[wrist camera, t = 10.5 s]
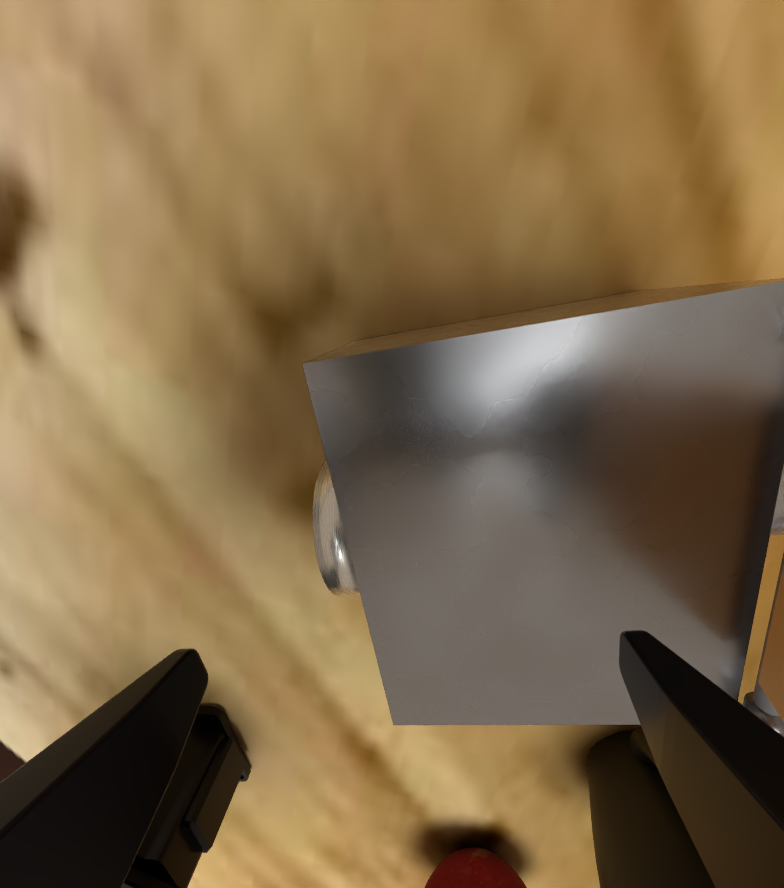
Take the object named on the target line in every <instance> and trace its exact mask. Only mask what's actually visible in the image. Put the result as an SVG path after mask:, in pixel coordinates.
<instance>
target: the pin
mask: <svg viewBox="0 0 784 888" xmlns="http://www.w3.org/2000/svg"><path fill="white" fill-rule="evenodd" d="M313 533H314V543H315V550H316V555H317V560H318V564H319V568H320V571H321V574H322V577H323V579H324V582H325V584H326V585H327V587H328V589H329V590H330V591H331V592H332V593H333V594H334V595H337V596H344V595H360V591H359V587H358V583H357V579H356V575H355V571H354V567H353V563H352V559H351V555H350V551H349V547H348V543H347V539H346V535H345V531H344V527H343V523H342V520H341V516H340V512H339V508H338V504H337V500H336V496H335V492H334V488H333V484H332V480H331V476H330V472H329V468H328V464H327V460H326V461H325V462H324V463H323V465H322V467H321V469H320V471H319V474H318V477H317V481H316V485H315V492H314V500H313ZM774 535H784V465H783V470H782V476H781V481H780V486H779V491H778V496H777V501H776V506H775V511H774V517H773V522H772V527H771V532H770V536H774Z"/></svg>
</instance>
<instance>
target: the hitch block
mask: <svg viewBox="0 0 784 888" xmlns="http://www.w3.org/2000/svg"><path fill="white" fill-rule="evenodd" d="M302 365H303V369H304V373H305V377H306V381H307V385H308V389H309V393H310V397H311V401H312V405H313V409H314V413H315V417H316V421H317V425H318V429H319V433H320V436H321V440H322V444H323V448H324V452H325V456H326V460H327V464H328V468H329V472H330V476H331V480H332V484H333V488H334V492H335V496H336V500H337V504H338V508H339V512H340V516H341V520H342V523H343V527H344V531H345V535H346V539H347V543H348V547H349V551H350V555H351V559H352V563H353V567H354V571H355V575H356V579H357V583H358V587H359V591H360V595H361V599H362V603H363V607H364V610H365V614H366V618H367V622H368V626H369V630H370V634H371V638H372V642H373V646H374V650H375V654H376V658H377V662H378V666H379V670H380V674H381V678H382V682H383V686H384V690H385V693H386V697H387V701H388V705H389V709H390V713H391V717H392V721H393V725H641V724H640V722H639V719H638V716H637V714H636V711H635V709H634V706H633V704H632V701H631V698H630V696H629V693H628V691H627V688H626V686H625V683H624V680H623V678H622V675H621V672H620V667H619V643H620V634H621V632H622V631H630V630H644V631H646V632H648V633H650V634H651V635H652V636H654V637H655V638H656V639H658V640H659V641H660V642H661V643H663V644H664V645H665V646H667V647H668V648H669V649H670V650H672V651H673V652H674V653H676V654H677V655H678V656H680V657H681V658H682V659H683V660H685V661H686V662H687V663H689V664H690V665H691V666H693V667H694V668H695V669H696V670H698V671H699V672H700V673H702V674H703V675H704V676H706V677H707V678H708V679H709V680H711V681H712V682H713V683H715V684H716V685H717V686H719V687H720V688H721V689H722V690H724V691H725V692H726V693H728V694H729V695H730V696H732V697H733V698H734V699H735V700H737V701H738V696H739V691H740V686H741V681H742V676H743V671H744V665H745V660H746V655H747V650H748V645H749V640H750V635H751V629H752V624H753V619H754V614H755V609H756V604H757V599H758V594H759V588H760V583H761V578H762V573H763V568H764V563H765V558H766V552H767V547H768V542H769V537H770V532H771V527H772V522H773V517H774V511H775V506H776V501H777V496H778V491H779V486H780V481H781V476H782V470H783V465H784V278H781V279H769V280H757V281H745V282H733V283H721V284H709V285H697V286H685V287H673V288H662V289H650V290H639V291H634V292H628V293H622V294H617V295H611V296H605V297H600V298H594V299H589V300H583V301H577V302H572V303H566V304H560V305H555V306H549V307H543V308H538V309H532V310H527V311H521V312H515V313H510V314H504V315H498V316H493V317H487V318H481V319H476V320H470V321H465V322H459V323H453V324H448V325H442V326H436V327H431V328H425V329H419V330H414V331H408V332H403V333H397V334H391V335H386V336H380V337H374V338H369V339H363V340H357V341H355V342H352V343H350V344H348V345H345V346H343V347H341V348H338V349H336V350H334V351H331V352H329V353H326V354H324V355H322V356H319V357H317V358H315V359H312V360H310V361H308V362H305V363H303V364H302ZM753 694H754V692H749V693H747V694H746V695H745V697H744V702H743V706H745V707H746V708H747V709H748V710H750V711H751V712H752V713H754V714H755V715H756V716H757V717H759V718H760V719H761V720H763V721H764V722H765V723H767V724H768V725H769V726H770V727H772V728H773V729H774V730H776V731H777V732H778V733H780V734H781V735H782V736H783V737H784V722H783V720H782V719H781V717H780V716H773V715H770V714H768V713H766V712H764V711H762V710H761V709H760V708H758V707H757V706H756V704H755V703H754V701H753Z"/></svg>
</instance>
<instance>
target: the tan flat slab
mask: <svg viewBox="0 0 784 888" xmlns="http://www.w3.org/2000/svg"><path fill="white" fill-rule="evenodd" d="M753 701H754V703H755V704H756V706H757V707H758V708H760V709H761V710H762V711H764V712H766V713H768V714H770V715H773V716H780V717H781V719H782V720H783V722H784V554H783V558H782V563H781V568H780V572H779V577H778V582H777V586H776V591H775V596H774V600H773V605H772V610H771V614H770V619H769V624H768V628H767V633H766V638H765V643H764V647H763V652H762V657H761V661H760V666H759V671H758V675H757V680H756V685H755V689H754V694H753Z"/></svg>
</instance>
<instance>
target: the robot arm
mask: <svg viewBox="0 0 784 888" xmlns="http://www.w3.org/2000/svg"><path fill="white" fill-rule="evenodd" d="M619 667H620V672H621V675H622V678H623V680H624V683H625V686H626V688H627V691H628V693H629V696H630V698H631V701H632V704H633V706H634V709H635V711H636V714H637V716H638V719H639V722H640V724H641V727H642V729H643V732H644V734H645V737H646V740H647V742H648V745H649V747H650V750H651V752H652V755H653V758H654V760H655V762H656V765H657V767H658V770H659V772H660V775H661V777H662V779H663V781H664V783H665V785H666V787H667V790H668V792H669V794H670V796H671V798H672V800H673V802H674V804H675V806H676V808H677V810H678V812H679V814H680V816H681V818H682V820H683V822H684V824H685V826H686V828H687V830H688V832H689V834H690V836H691V838H692V840H693V843H694V845H695V847H696V849H697V851H698V853H699V855H700V857H701V859H702V861H703V863H704V865H705V867H706V869H707V871H708V873H709V875H710V877H711V879H712V881H713V883H714V885H715V887H716V888H784V737H783V736H782V735H781V734H780V733H778V732H777V731H776V730H774V729H773V728H772V727H770V726H769V725H768V724H767V723H765V722H764V721H763V720H761V719H760V718H759V717H757V716H756V715H755V714H754V713H752V712H751V711H750V710H748V709H747V708H746V707H745V706H743V705H742V704H741V703H739V702H738V701H737V700H735V699H734V698H733V697H732V696H730V695H729V694H728V693H726V692H725V691H724V690H722V689H721V688H720V687H719V686H717V685H716V684H715V683H713V682H712V681H711V680H709V679H708V678H707V677H706V676H704V675H703V674H702V673H700V672H699V671H698V670H696V669H695V668H694V667H693V666H691V665H690V664H689V663H687V662H686V661H685V660H683V659H682V658H681V657H680V656H678V655H677V654H676V653H674V652H673V651H672V650H670V649H669V648H668V647H667V646H665V645H664V644H663V643H661V642H660V641H659V640H658V639H656V638H655V637H654V636H652V635H651V634H650V633H648V632H646V631H644V630H630V631H622V632H621V634H620V643H619ZM207 684H208V673H207V670H206V668H205V666H204V664H203V662H202V660H201V658H200V656H199V653H198V652H197V651H196V650H195V649H179V650H176V651H174V652H173V653H171V654H170V655H169V656H167V657H166V658H165V659H163V660H162V661H161V662H159V663H158V664H157V665H155V666H154V667H153V668H151V669H150V670H149V671H147V672H146V673H145V674H143V675H142V676H141V677H139V678H138V679H137V680H135V681H134V682H133V683H131V684H130V685H129V686H127V687H126V688H125V689H124V690H122V691H121V692H120V693H118V694H117V695H116V696H114V697H113V698H112V699H110V700H109V701H108V702H106V703H105V704H104V705H102V706H101V707H100V708H98V709H97V710H96V711H94V712H93V713H92V714H90V715H89V716H88V717H86V718H85V719H84V720H82V721H81V722H80V723H78V724H77V725H76V726H74V727H73V728H72V729H70V730H69V731H68V732H67V733H65V734H64V735H63V736H61V737H60V738H59V739H57V740H56V741H55V742H53V743H52V744H51V745H49V746H48V747H47V748H45V749H44V750H43V751H41V752H40V753H39V754H37V755H36V756H35V757H33V758H32V759H31V760H29V761H28V762H27V763H25V764H24V765H23V766H22V767H20V768H19V769H18V770H16V771H15V772H13V773H12V774H11V775H10V776H9V777H7V778H6V779H4V780H3V781H2V782H0V888H187V887H188V885H189V882H190V880H191V878H192V875H193V873H194V871H195V868H196V866H197V864H198V861H199V859H200V857H201V854H202V853H207V852H208V851H209V850H210V848H211V847H212V845H213V843H214V840H215V838H216V835H217V833H218V831H219V828H220V826H221V823H222V821H223V818H224V816H225V814H226V811H227V809H228V806H229V804H230V801H231V799H232V797H233V794H234V792H235V789H236V787H237V785H238V782H239V781H247V779H248V777H249V775H250V772H251V770H250V768H249V766H248V764H247V761H246V759H245V757H244V755H243V753H242V751H241V749H240V747H239V744H238V742H237V740H236V738H235V736H234V734H233V732H232V729H231V727H230V725H229V723H228V721H227V719H226V717H225V715H224V713H223V711H222V710H221V709H219V708H217V707H199V706H200V703H201V701H202V698H203V695H204V693H205V690H206V687H207Z"/></svg>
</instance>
